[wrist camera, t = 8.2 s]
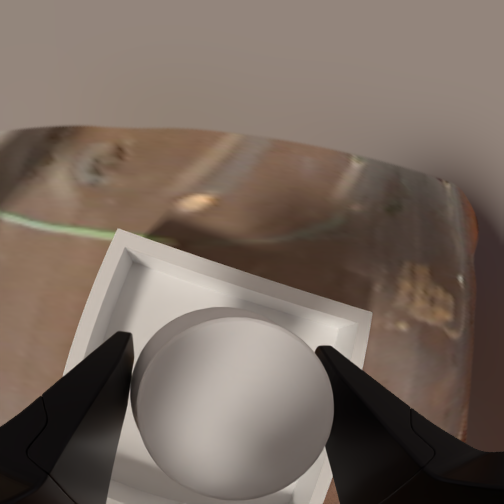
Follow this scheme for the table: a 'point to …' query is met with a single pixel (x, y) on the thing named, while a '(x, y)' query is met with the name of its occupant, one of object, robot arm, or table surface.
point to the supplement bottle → (231, 403)
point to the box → (184, 301)
